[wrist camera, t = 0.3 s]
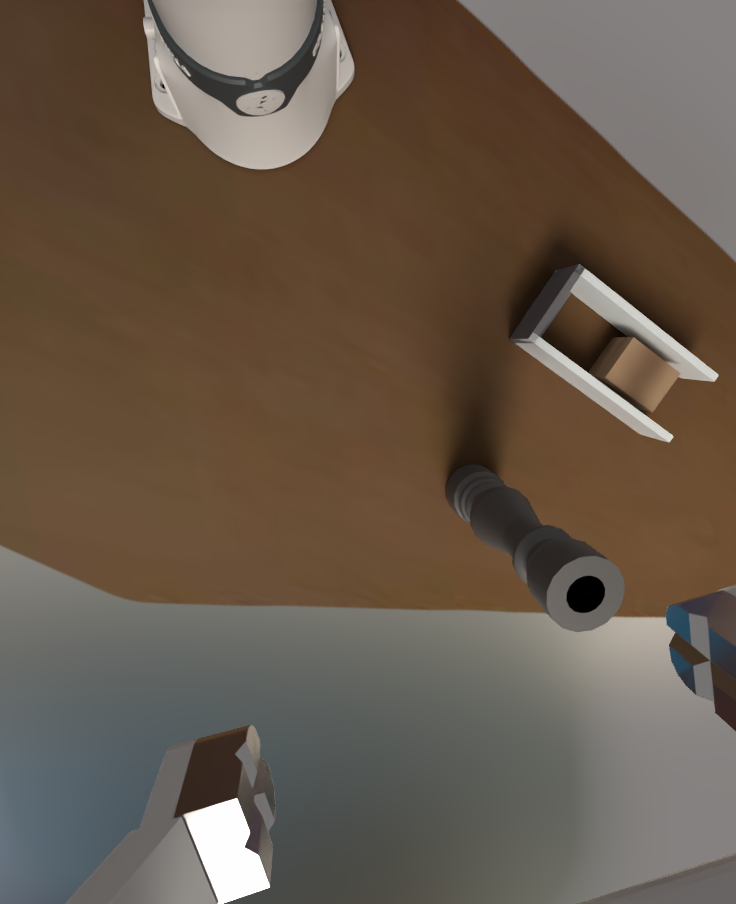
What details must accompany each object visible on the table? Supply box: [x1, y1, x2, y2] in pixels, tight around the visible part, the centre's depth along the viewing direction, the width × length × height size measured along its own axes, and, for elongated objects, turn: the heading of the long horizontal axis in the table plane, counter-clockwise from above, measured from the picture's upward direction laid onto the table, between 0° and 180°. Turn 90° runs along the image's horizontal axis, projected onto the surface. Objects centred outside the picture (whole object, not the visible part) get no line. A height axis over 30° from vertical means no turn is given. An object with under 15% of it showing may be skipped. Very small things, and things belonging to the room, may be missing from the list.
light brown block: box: [588, 337, 681, 412], centre depth 56 cm, size 7×5×4 cm
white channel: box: [509, 264, 719, 442], centre depth 55 cm, size 20×9×5 cm, turn 57°
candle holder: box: [446, 464, 625, 632], centre depth 47 cm, size 6×6×25 cm
